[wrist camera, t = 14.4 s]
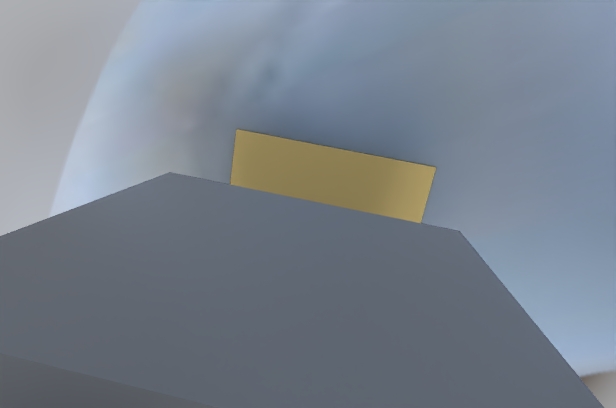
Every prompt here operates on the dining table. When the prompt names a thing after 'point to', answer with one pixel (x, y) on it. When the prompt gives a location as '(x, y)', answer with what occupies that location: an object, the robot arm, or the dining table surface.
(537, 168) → the dining table surface
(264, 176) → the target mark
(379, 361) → the grey cube
